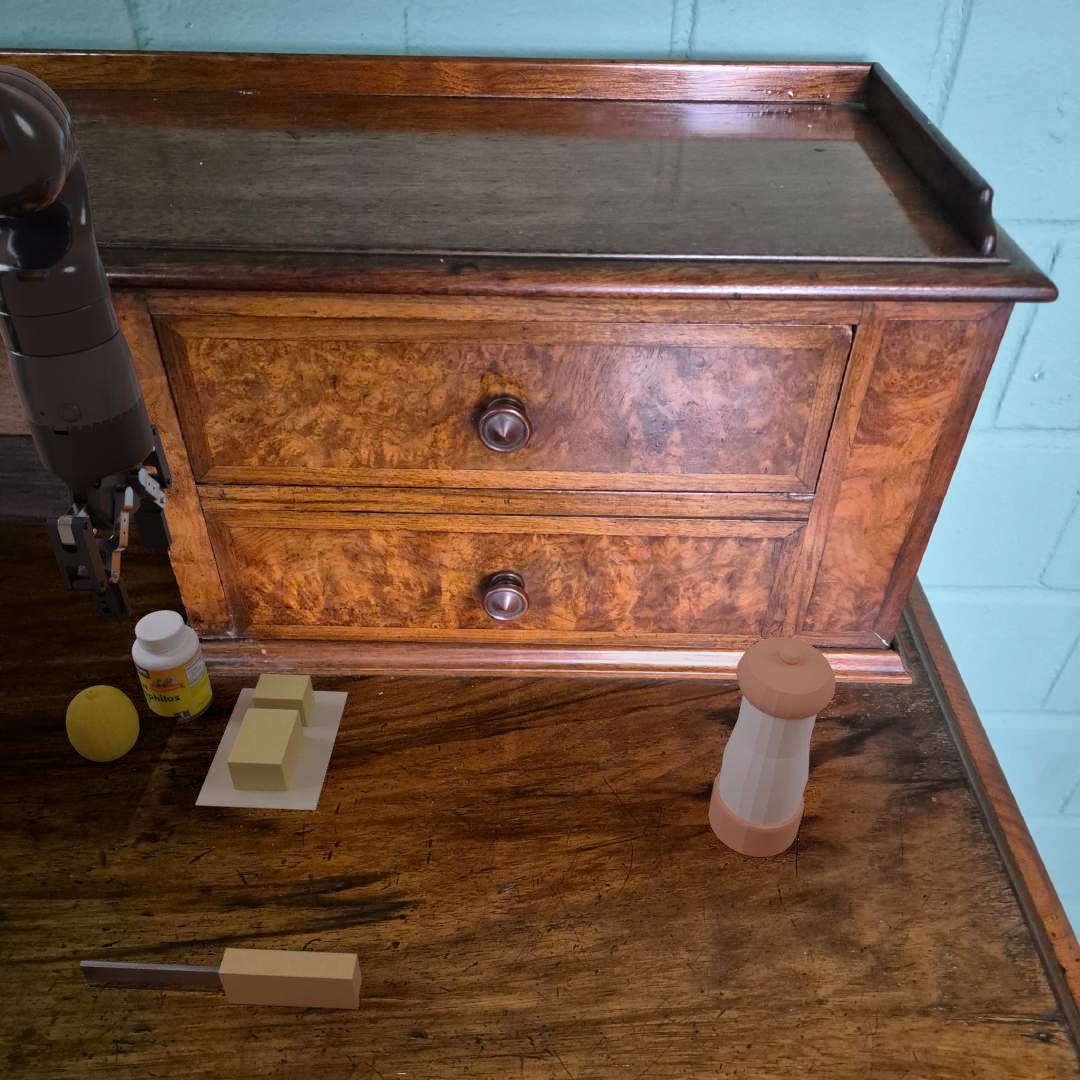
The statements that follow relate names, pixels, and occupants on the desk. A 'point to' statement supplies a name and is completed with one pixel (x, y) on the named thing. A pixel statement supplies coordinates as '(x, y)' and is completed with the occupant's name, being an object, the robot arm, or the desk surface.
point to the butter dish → (306, 770)
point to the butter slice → (285, 694)
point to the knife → (250, 977)
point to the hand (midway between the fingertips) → (138, 580)
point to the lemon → (102, 723)
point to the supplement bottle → (171, 666)
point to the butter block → (266, 749)
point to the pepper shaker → (770, 746)
